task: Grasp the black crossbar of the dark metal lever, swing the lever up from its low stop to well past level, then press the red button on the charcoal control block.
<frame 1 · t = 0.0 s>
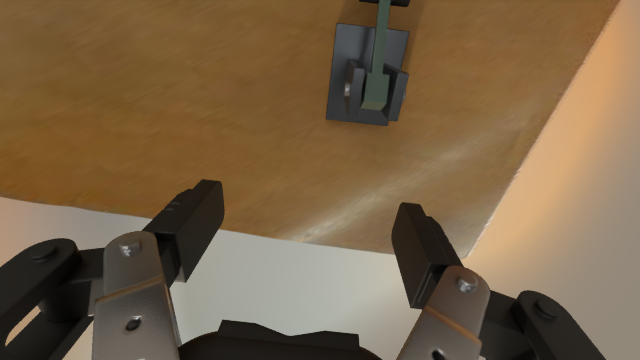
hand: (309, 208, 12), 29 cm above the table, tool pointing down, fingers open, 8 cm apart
bracket: (363, 77, 36), on the table
lever: (379, 46, 26), point 9 cm above the table, hinge at -30.0°
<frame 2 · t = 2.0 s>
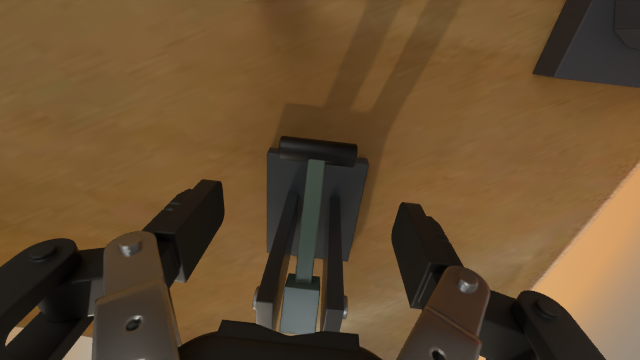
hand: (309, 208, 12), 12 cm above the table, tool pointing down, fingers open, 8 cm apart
bracket: (312, 206, 27), on the table
lever: (308, 231, 17), point 9 cm above the table, hinge at -30.0°
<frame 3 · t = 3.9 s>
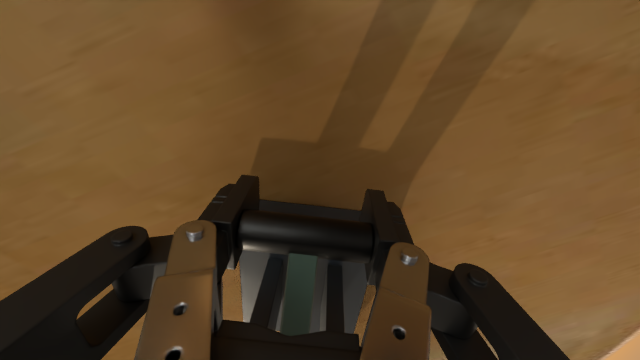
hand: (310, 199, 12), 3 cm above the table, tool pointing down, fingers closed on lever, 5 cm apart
bracket: (304, 270, 19), on the table
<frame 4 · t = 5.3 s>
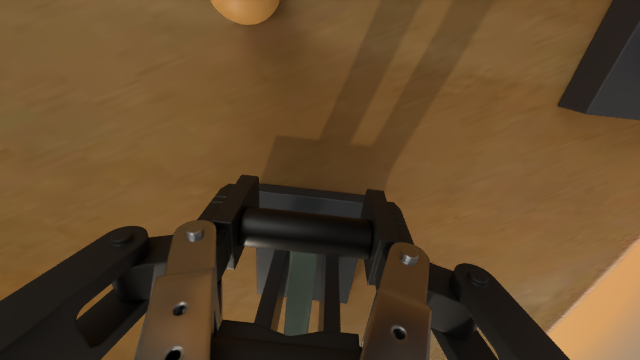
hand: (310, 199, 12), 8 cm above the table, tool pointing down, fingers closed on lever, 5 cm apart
bracket: (308, 245, 24), on the table
lever: (296, 324, 12), point 11 cm above the table, hinge at -4.7°, touching gripper
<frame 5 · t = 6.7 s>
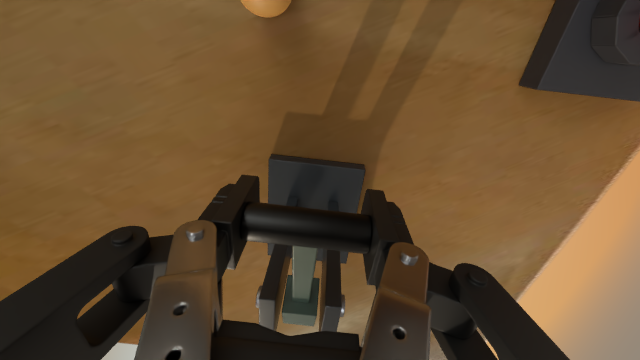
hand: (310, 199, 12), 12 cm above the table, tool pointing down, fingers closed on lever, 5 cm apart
button block: (615, 11, 18), on the table
bracket: (312, 210, 28), on the table
lever: (303, 276, 14), point 13 cm above the table, hinge at 20.8°, touching gripper
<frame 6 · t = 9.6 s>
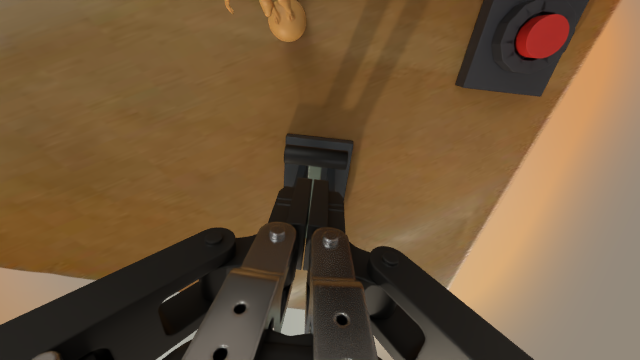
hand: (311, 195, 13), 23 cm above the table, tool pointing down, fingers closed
button block: (512, 37, 29), on the table
bracket: (316, 175, 38), on the table
figurine: (288, 11, 29), on the table
lever: (312, 196, 25), point 13 cm above the table, hinge at 20.4°
button: (541, 37, 25), point 4 cm above the table, slide at 0.1 cm
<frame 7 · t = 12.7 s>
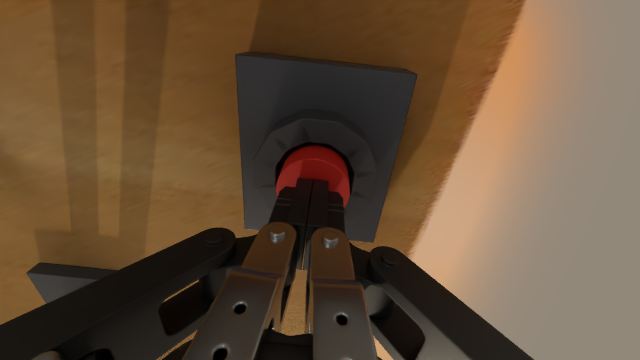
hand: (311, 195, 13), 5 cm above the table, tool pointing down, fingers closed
button block: (318, 150, 17), on the table
bracket: (107, 308, 27), on the table
button: (314, 183, 13), point 4 cm above the table, slide at 0.0 cm, touching gripper
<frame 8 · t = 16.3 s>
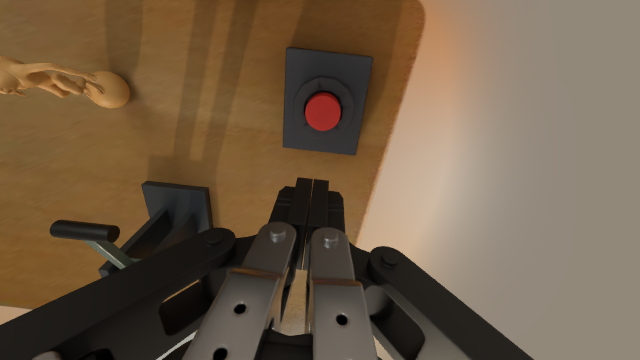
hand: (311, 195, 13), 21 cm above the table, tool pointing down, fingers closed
button block: (324, 102, 31), on the table
bracket: (183, 217, 41), on the table
figurine: (117, 78, 31), on the table
lever: (116, 256, 27), point 13 cm above the table, hinge at 20.4°
button: (323, 111, 27), point 4 cm above the table, slide at 0.1 cm
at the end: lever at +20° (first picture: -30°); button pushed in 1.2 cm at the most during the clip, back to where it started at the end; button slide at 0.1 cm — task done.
